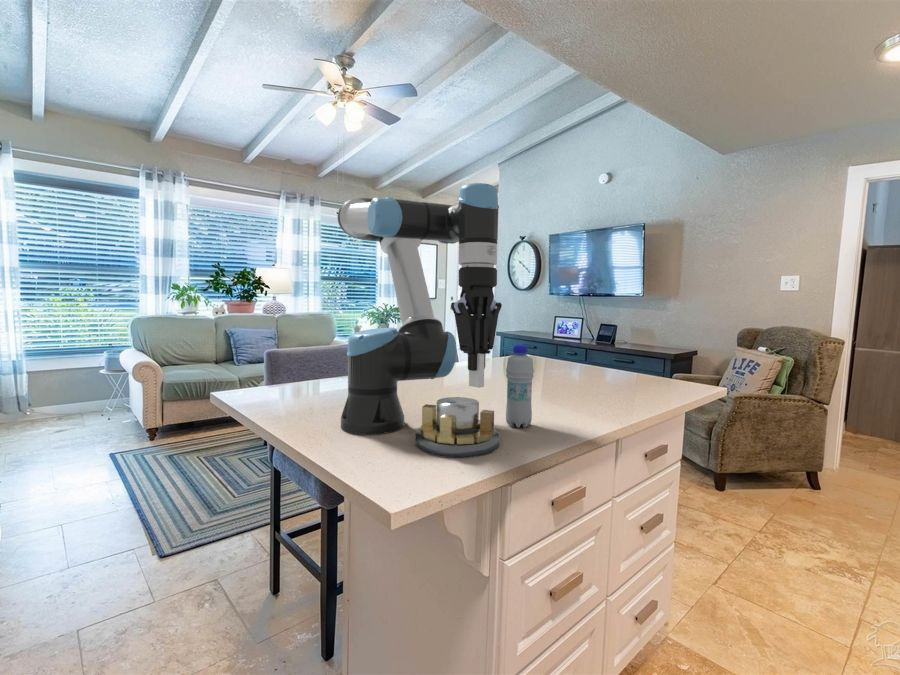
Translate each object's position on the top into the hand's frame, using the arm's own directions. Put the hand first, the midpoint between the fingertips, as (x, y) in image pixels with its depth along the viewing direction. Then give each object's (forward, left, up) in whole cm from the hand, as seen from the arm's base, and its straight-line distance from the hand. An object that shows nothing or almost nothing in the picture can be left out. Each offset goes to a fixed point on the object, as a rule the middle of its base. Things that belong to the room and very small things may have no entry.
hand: (476, 386), depth 90 cm
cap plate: (-5, +4, -14) cm, 15 cm away
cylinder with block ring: (-5, +4, -11) cm, 13 cm away
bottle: (+5, +22, -14) cm, 27 cm away
